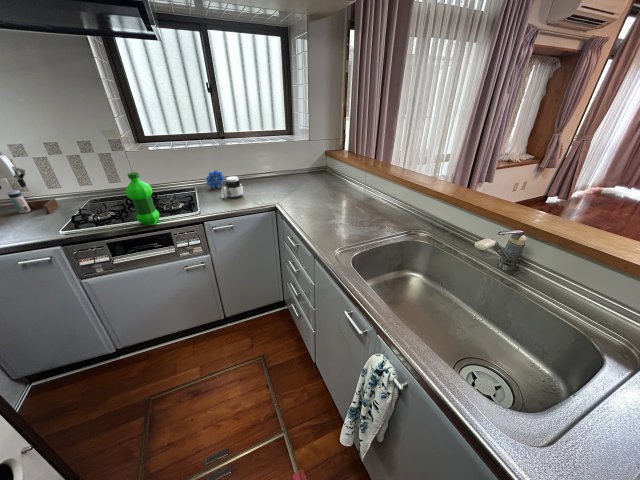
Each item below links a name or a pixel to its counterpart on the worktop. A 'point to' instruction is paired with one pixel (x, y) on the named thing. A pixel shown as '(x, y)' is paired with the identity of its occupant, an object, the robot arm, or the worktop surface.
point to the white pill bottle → (19, 201)
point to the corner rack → (43, 205)
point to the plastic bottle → (142, 200)
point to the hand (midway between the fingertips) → (12, 188)
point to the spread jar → (232, 188)
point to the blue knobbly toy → (215, 179)
